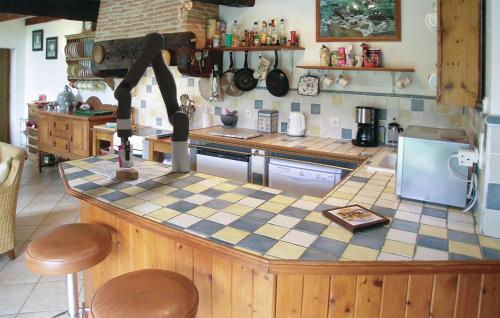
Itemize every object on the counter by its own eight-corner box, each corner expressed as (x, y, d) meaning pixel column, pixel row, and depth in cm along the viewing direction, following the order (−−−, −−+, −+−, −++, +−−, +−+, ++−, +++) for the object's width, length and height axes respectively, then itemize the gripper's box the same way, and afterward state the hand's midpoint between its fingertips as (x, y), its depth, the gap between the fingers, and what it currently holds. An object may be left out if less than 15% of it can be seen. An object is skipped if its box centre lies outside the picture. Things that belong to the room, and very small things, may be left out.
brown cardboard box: (133, 175, 219) (132, 168, 218) (138, 179, 212) (138, 171, 211) (116, 177, 214) (115, 170, 214) (121, 181, 207) (120, 174, 206)
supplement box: (134, 165, 214) (133, 143, 212) (129, 168, 209) (128, 146, 206) (123, 165, 215) (122, 143, 212) (118, 167, 209) (117, 145, 207)
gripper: (134, 129, 203) (136, 161, 206) (129, 125, 215) (131, 155, 219) (118, 130, 199) (120, 162, 203) (114, 126, 212) (116, 156, 216)
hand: (126, 158), depth 211 cm, fingers closed on supplement box, 7 cm apart
